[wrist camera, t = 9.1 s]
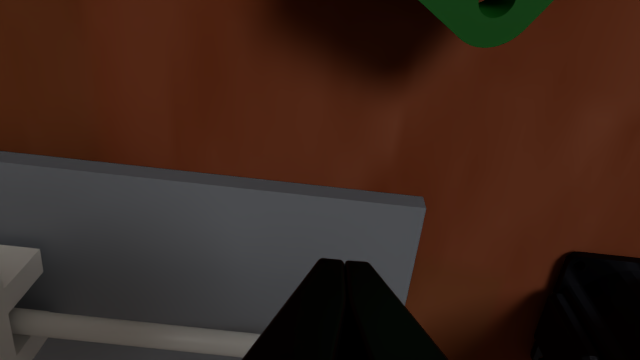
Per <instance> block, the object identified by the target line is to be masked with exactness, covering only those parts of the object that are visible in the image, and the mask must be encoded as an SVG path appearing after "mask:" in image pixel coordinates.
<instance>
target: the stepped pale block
mask: <svg viewBox="0 0 640 360" xmlns="http://www.w3.org/2000/svg"><path fill="white" fill-rule="evenodd" d="M42 273H43V266H42V259H41V252H40V249H37V248H27V247H18V246H9V245H0V360H33V358H34V357H35V356H36V354H37V353H38V351H39V350H40V348H41V347H42V345H43V344H44V343H45V341H46V340H47V338H48V337H39V336H29V335H20V334H12V331H11V326H10V320H9V315H8V314H9V312H10V311H11V310H12V309H13V308H14V306H15V305H16V304H17V303H18V302H19V300H20V299H21V298H22V297H23V296H24V294H25V293H26V292H27V291H28V290H29V288H30V287H31V286H32V285H33V284H34V282H35V281H36V280H37V279H38V278H39V276H40V275H41V274H42ZM15 309H23V308H15ZM24 310H33V309H24ZM34 311H42V310H34ZM43 312H49V311H43Z"/></svg>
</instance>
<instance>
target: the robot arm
mask: <svg viewBox="0 0 640 360" xmlns="http://www.w3.org/2000/svg"><path fill="white" fill-rule="evenodd" d="M580 261H581V263H580V264H579V265H577V266H574V264H575V263H577V262H580ZM534 338H535V343H534V345H533V348H532V351H531V355H530V356H531V359H532V360H640V258H633V257H624V256H615V255H605V254H596V253H587V252H573V253H571V254H569V255H568V256H567V257H566V258H565V260H564V263H563V266H562V268H561V271H560V274H559V277H558V279H557V282H556V285H555V288H554V290H553V292H552V293H551V294H550V295H549V296H548V298H547V301H546V304H545V307H544V309H543V312H542V315H541V318H540V321H539V323H538V326H537V329H536V332H535V334H534ZM542 356H543V358H540V357H542ZM242 360H448V358H447V357H446V356H445V355H444V354H443V352H442V351H441V350H440V349H439V347H438V346H437V345H436V344H435V343H434V341H433V340H432V339H431V338H430V336H429V335H428V334H427V333H426V332H425V330H424V329H423V328H422V327H421V325H420V324H419V323H418V322H417V321H416V319H415V318H414V317H413V316H412V314H411V313H410V312H409V311H408V309H407V308H406V307H405V306H404V305H403V303H402V302H401V301H400V300H399V298H398V297H397V296H396V295H395V294H394V292H393V291H392V290H391V289H390V287H389V286H388V285H387V284H386V283H385V281H384V280H383V279H382V278H381V276H380V275H379V274H378V273H377V272H376V270H375V269H374V268H373V267H372V265H371V264H370V263H368V262H364V261H352V260H347V261H346V262H345V263H344V262H343V261H342V260H340V259H329V258H320V259H319V260H318V261H317V262H316V264H315V265H314V266H313V268H312V269H311V270H310V271H309V273H308V274H307V275H306V277H305V278H304V279H303V280H302V282H301V283H300V284H299V286H298V287H297V288H296V290H295V291H294V292H293V293H292V295H291V296H290V297H289V299H288V300H287V301H286V302H285V304H284V305H283V306H282V308H281V309H280V310H279V312H278V313H277V314H276V315H275V317H274V318H273V319H272V321H271V322H270V323H269V325H268V326H267V327H266V328H265V330H264V331H263V332H262V334H261V335H260V336H259V337H258V339H257V340H256V341H255V343H254V344H253V345H252V347H251V348H250V349H249V350H248V352H247V353H246V354H245V356H244V357H243V358H242Z"/></svg>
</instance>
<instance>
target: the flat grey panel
mask: <svg viewBox="0 0 640 360" xmlns="http://www.w3.org/2000/svg"><path fill="white" fill-rule="evenodd" d="M425 211H426V206H425V203H424V199H423V197H419V196H409V195H400V194H391V193H382V192H373V191H363V190H354V189H345V188H336V187H327V186H317V185H308V184H299V183H290V182H281V181H271V180H262V179H253V178H244V177H234V176H225V175H216V174H207V173H198V172H188V171H179V170H170V169H161V168H152V167H142V166H133V165H124V164H115V163H106V162H96V161H87V160H78V159H69V158H60V157H50V156H41V155H32V154H23V153H13V152H4V151H0V245H9V246H18V247H27V248H37V249H40V252H41V259H42V266H43V273H42V274H41V275H40V276H39V278H38V279H37V280H36V281H35V282H34V284H33V285H32V286H31V287H30V288H29V290H28V291H27V292H26V293H25V294H24V296H23V297H22V298H21V299H20V300H19V302H18V303H17V304H16V305H15V306H14V308H13V309H12V310H11V311H10V312H9V314H8V315H9V320H10V326H11V331H12V334H20V335H29V336H39V337H48V338H47V340H46V341H45V343H44V344H43V345H42V347H41V348H40V350H39V351H38V353H37V354H36V356H35V357H34V358H33V360H242V358H243V357H244V356H245V354H246V353H247V352H248V350H249V349H250V348H251V347H252V345H253V344H254V343H255V341H256V340H257V339H258V337H259V336H260V335H261V334H262V332H263V331H264V330H265V328H266V327H267V326H268V325H269V323H270V322H271V321H272V319H273V318H274V317H275V315H276V314H277V313H278V312H279V310H280V309H281V308H282V306H283V305H284V304H285V302H286V301H287V300H288V299H289V297H290V296H291V295H292V293H293V292H294V291H295V290H296V288H297V287H298V286H299V284H300V283H301V282H302V280H303V279H304V278H305V277H306V275H307V274H308V273H309V271H310V270H311V269H312V268H313V266H314V265H315V264H316V262H317V261H318V260H319V259H320V258H329V259H340V260H342V261H343V262H344V263H345V262H346V261H347V260H352V261H364V262H368V263H370V264H371V265H372V267H373V268H374V269H375V270H376V272H377V273H378V274H379V275H380V276H381V278H382V279H383V280H384V281H385V283H386V284H387V285H388V286H389V287H390V289H391V290H392V291H393V292H394V294H395V295H396V296H397V297H398V298H399V300H400V301H401V302H402V303H403V305H404V306H405V303H406V298H407V294H408V289H409V285H410V280H411V275H412V271H413V266H414V262H415V257H416V252H417V248H418V243H419V239H420V234H421V230H422V225H423V220H424V216H425ZM15 308H23V309H15ZM24 309H33V310H24ZM34 310H42V311H34ZM43 311H49V312H43Z"/></svg>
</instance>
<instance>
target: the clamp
mask: <svg viewBox="0 0 640 360" xmlns="http://www.w3.org/2000/svg"><path fill="white" fill-rule="evenodd" d="M419 1H420V2H421V3H422V4H423V5H424V6H425V7H426V8H427V9H428V10H430V11H431V12H432V13H433V14H434V15H435V16H436V17H437V18H438V19H439V20H440V21H441V22H443V23H444V24H445V25H446V26H447V27H448V28H449V29H450V30H451V31H452V32H453V33H454V34H456V35H457V36H458V37H459V38H460V39H461V40H462V41H464V42H465V43H467V44H469V45H472V46H475V47H482V48H488V47H495V46H499V45H501V44H504V43H506V42H508V41H510V40H512V39H513V38H515V37H516V36H518V35H519V34H520V33H521V32H522V31H524V30H525V29H526V28H527V27H528V26H529V25H530V24H531V23H532V22H533V21H534V20H535V19H536V18H537V17H538V16H539V15H540V14H541V13H542V12H543V11H544V10H545V9H546V8H547V7H548V6H549V4H550V3H551V2H552V1H553V0H484V1H482V2H479V3H478V1H479V0H419Z"/></svg>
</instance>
